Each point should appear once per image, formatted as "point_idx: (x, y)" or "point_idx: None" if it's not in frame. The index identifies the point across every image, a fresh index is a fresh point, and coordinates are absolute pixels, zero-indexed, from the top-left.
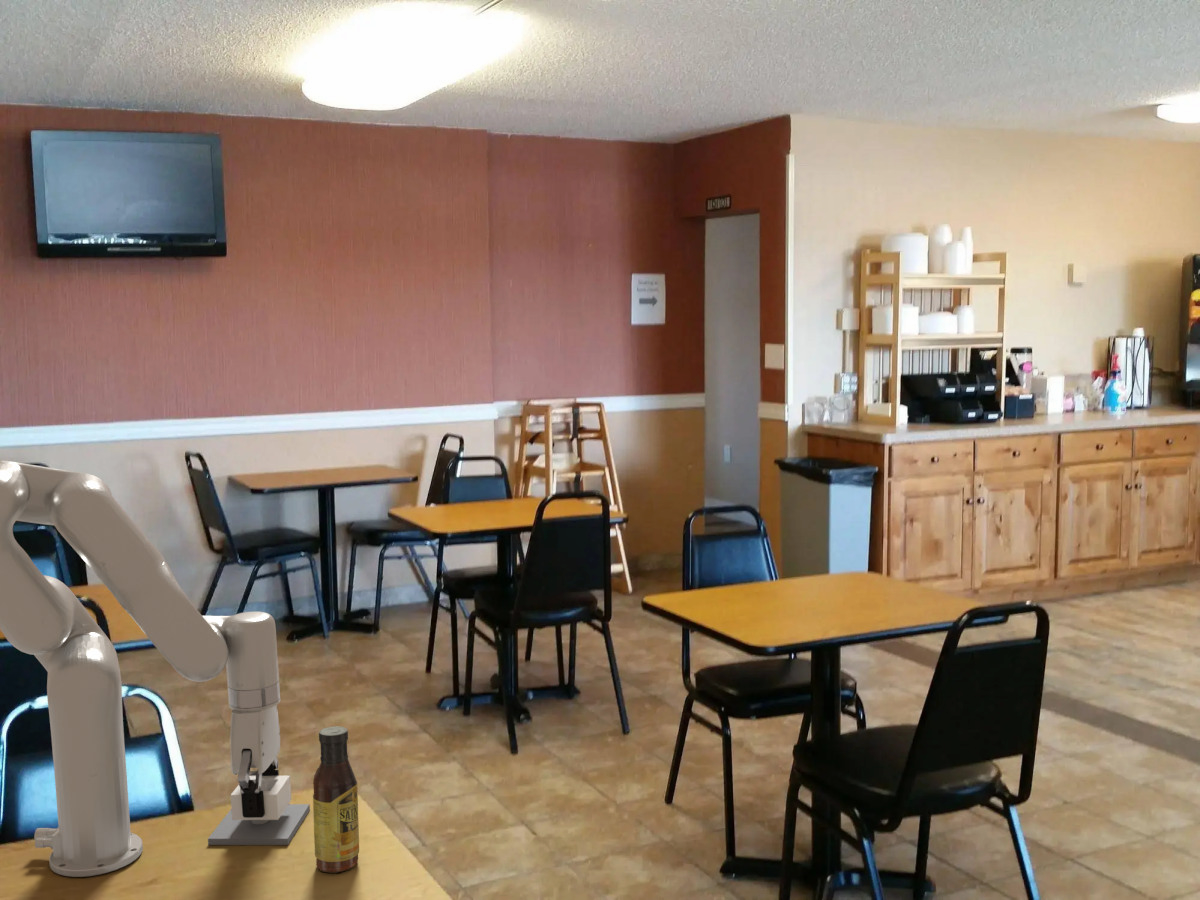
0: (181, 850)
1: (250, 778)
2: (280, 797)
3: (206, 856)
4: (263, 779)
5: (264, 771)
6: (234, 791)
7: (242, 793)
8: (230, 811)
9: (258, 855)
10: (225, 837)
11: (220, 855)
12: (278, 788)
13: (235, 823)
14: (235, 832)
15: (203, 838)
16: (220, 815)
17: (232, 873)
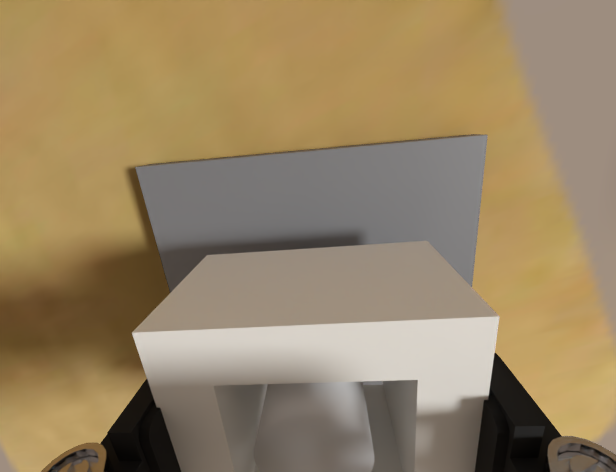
0: (80, 69)
1: (441, 365)
2: None
3: (74, 196)
4: (415, 446)
5: (506, 470)
6: (195, 336)
7: (68, 461)
8: (403, 149)
9: (134, 347)
10: (164, 232)
11: (97, 241)
12: None
13: (284, 222)
14: (211, 253)
15: (198, 115)
16: (422, 86)
17: (15, 318)
